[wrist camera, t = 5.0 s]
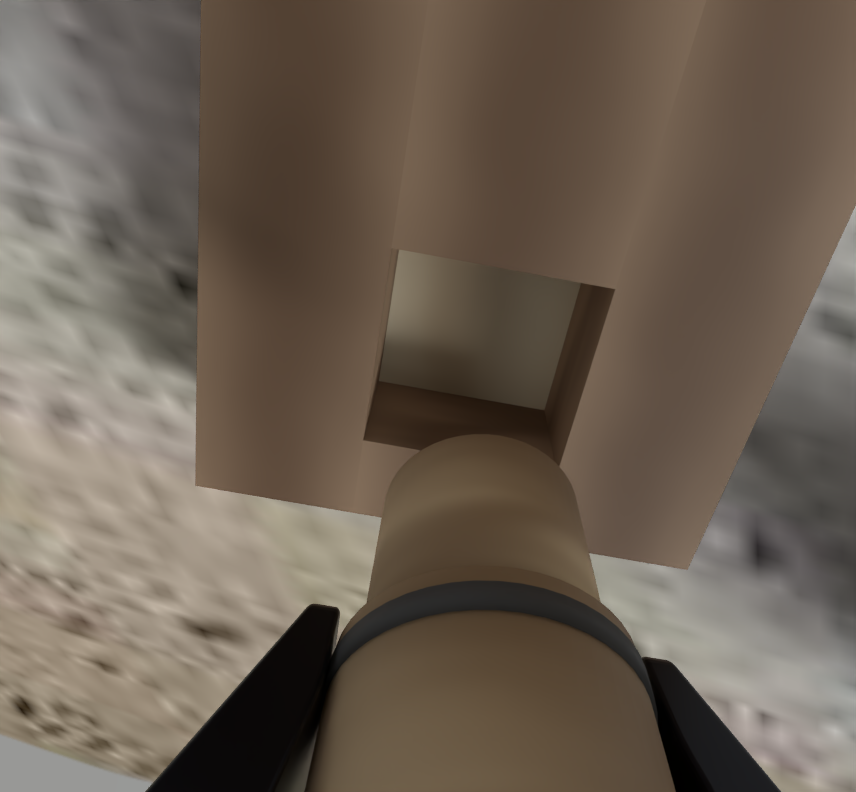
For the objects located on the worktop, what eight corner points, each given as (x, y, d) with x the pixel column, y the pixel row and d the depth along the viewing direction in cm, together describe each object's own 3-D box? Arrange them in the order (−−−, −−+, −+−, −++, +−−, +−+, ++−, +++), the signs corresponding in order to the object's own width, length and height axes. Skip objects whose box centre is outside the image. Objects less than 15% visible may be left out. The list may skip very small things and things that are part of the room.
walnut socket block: (963, -315, 14) (1160, -456, 10) (650, 478, 23) (687, 569, 19) (285, -462, 14) (208, -669, 10) (243, 407, 23) (195, 485, 19)
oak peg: (627, 438, 11) (1034, 1446, 3) (563, 618, 13) (715, 1530, 5) (380, 396, 11) (151, 1338, 3) (351, 585, 13) (166, 1464, 5)
